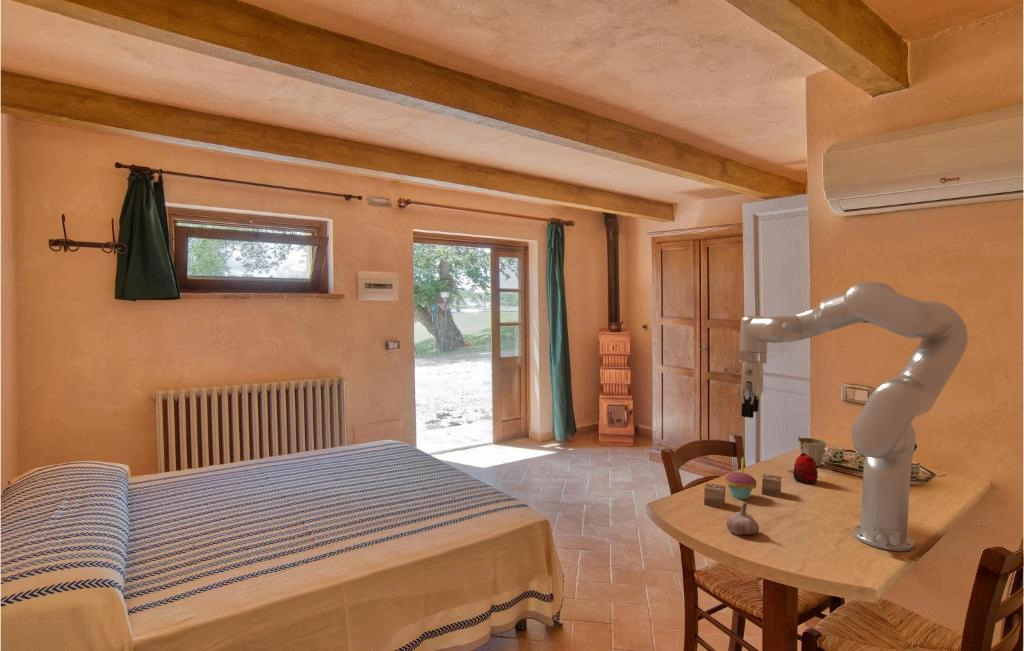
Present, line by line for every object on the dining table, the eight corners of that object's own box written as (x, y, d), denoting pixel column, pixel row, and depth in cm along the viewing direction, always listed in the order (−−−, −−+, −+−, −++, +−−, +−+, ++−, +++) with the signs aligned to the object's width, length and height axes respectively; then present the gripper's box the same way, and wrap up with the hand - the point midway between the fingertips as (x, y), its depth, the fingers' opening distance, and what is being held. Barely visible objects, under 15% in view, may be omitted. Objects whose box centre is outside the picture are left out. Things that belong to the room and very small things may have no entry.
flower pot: (802, 458, 202) (803, 436, 202) (830, 465, 195) (831, 441, 195) (791, 463, 196) (792, 440, 196) (819, 470, 189) (820, 445, 188)
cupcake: (727, 489, 168) (729, 451, 168) (757, 494, 164) (759, 455, 163) (722, 497, 161) (724, 458, 160) (753, 504, 157) (755, 463, 156)
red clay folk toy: (821, 485, 173) (824, 439, 173) (799, 485, 173) (801, 438, 173) (809, 477, 181) (811, 433, 180) (788, 477, 181) (790, 432, 180)
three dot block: (722, 508, 153) (723, 490, 153) (704, 504, 155) (704, 487, 155) (724, 502, 157) (725, 485, 157) (706, 499, 160) (707, 482, 160)
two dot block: (780, 497, 162) (780, 480, 162) (761, 494, 165) (762, 477, 164) (780, 492, 167) (781, 476, 166) (762, 489, 169) (763, 473, 169)
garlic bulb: (763, 533, 137) (764, 502, 137) (751, 542, 132) (752, 510, 132) (733, 524, 143) (734, 494, 142) (721, 532, 137) (722, 501, 137)
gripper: (762, 361, 151) (759, 421, 153) (769, 355, 166) (767, 410, 167) (734, 358, 155) (731, 417, 156) (743, 353, 170) (741, 407, 171)
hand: (749, 414), depth 162 cm, fingers open, 9 cm apart
